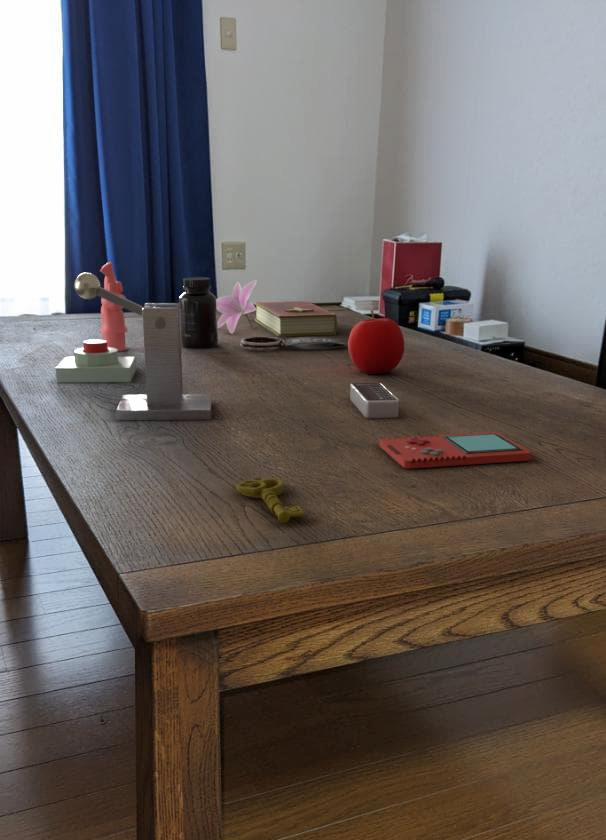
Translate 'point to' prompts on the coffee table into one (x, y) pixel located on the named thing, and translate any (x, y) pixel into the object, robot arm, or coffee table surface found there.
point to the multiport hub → (374, 400)
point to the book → (295, 318)
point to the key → (269, 496)
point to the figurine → (112, 312)
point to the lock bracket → (163, 372)
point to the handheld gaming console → (454, 450)
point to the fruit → (376, 345)
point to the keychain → (290, 343)
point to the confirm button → (95, 346)
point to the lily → (235, 305)
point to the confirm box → (96, 367)
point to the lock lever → (102, 292)
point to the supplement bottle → (198, 314)
